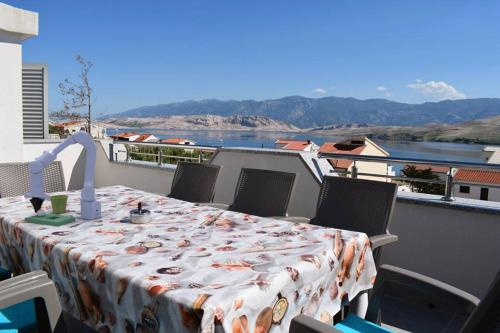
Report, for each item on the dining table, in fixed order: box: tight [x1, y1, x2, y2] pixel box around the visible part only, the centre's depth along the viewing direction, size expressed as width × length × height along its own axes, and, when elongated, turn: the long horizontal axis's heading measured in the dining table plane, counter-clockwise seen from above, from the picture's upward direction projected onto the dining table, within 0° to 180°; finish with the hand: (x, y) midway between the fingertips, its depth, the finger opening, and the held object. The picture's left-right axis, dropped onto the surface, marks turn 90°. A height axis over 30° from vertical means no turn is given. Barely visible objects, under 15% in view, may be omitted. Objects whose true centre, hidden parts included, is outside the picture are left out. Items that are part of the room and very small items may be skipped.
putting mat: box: [24, 212, 76, 227], centre depth 191 cm, size 20×11×2 cm, turn 71°
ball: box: [36, 208, 46, 216], centre depth 192 cm, size 4×4×4 cm
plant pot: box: [49, 194, 69, 214], centre depth 210 cm, size 9×9×9 cm
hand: (37, 212), depth 193 cm, fingers closed
